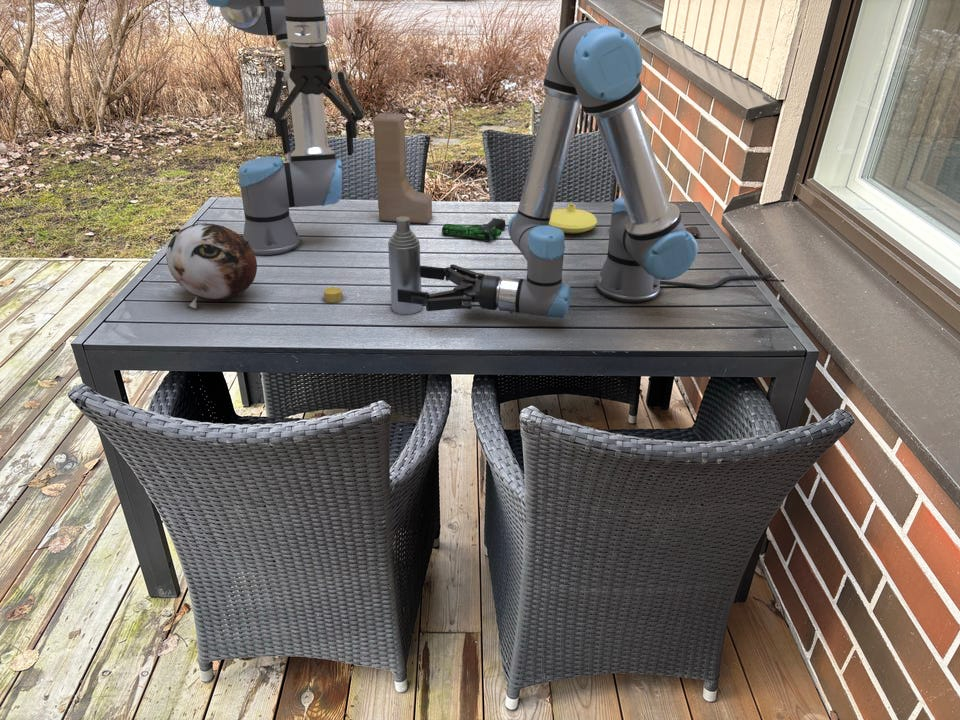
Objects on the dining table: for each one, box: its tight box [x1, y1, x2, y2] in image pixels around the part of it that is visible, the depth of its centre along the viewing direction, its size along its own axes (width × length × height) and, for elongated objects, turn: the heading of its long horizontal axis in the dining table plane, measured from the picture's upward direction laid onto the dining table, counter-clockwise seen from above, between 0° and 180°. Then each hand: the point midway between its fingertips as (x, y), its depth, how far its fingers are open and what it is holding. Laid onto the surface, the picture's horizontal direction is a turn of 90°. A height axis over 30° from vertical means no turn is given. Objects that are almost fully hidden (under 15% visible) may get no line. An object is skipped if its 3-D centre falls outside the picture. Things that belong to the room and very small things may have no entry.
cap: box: [323, 286, 343, 304], centre depth 168 cm, size 4×4×2 cm
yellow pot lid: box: [548, 203, 598, 234], centre depth 209 cm, size 16×16×7 cm
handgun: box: [441, 217, 506, 242], centre depth 207 cm, size 16×3×15 cm
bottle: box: [387, 216, 423, 315], centre depth 160 cm, size 7×7×22 cm
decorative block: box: [372, 112, 433, 224], centre depth 209 cm, size 8×15×30 cm, turn 82°
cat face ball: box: [165, 222, 258, 309], centre depth 165 cm, size 22×18×20 cm
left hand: (318, 153), depth 151 cm, fingers open, 13 cm apart
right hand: (407, 282), depth 162 cm, fingers open, 13 cm apart
